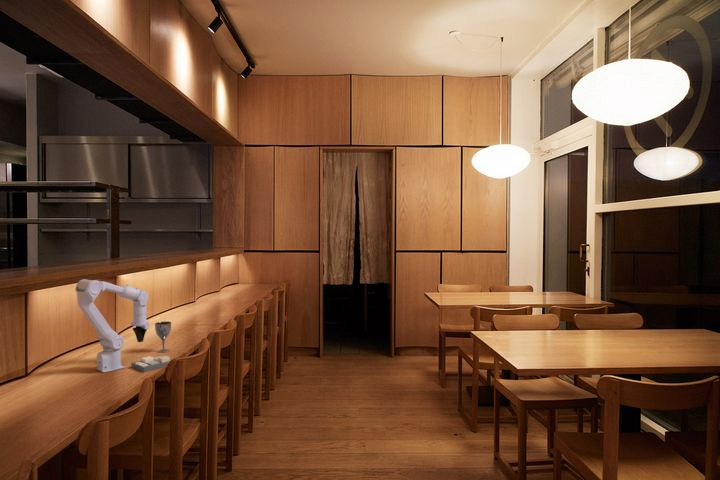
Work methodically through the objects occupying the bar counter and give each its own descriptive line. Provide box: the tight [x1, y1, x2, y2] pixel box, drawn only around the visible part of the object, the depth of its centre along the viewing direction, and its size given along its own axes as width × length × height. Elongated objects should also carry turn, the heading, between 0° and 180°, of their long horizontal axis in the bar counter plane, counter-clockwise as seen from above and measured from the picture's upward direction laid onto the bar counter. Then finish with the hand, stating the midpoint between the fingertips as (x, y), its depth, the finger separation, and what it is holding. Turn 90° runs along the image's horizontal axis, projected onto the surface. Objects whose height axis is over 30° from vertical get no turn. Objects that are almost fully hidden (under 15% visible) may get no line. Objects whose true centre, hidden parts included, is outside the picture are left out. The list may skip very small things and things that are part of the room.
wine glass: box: [154, 320, 172, 354], centre depth 239 cm, size 8×8×15 cm
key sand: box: [157, 355, 171, 363], centre depth 215 cm, size 4×4×2 cm
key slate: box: [147, 361, 159, 365], centre depth 211 cm, size 4×4×2 cm
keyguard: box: [130, 355, 173, 373], centre depth 214 cm, size 15×12×2 cm
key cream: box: [140, 355, 154, 363], centre depth 214 cm, size 4×4×2 cm
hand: (140, 341), depth 222 cm, fingers closed
